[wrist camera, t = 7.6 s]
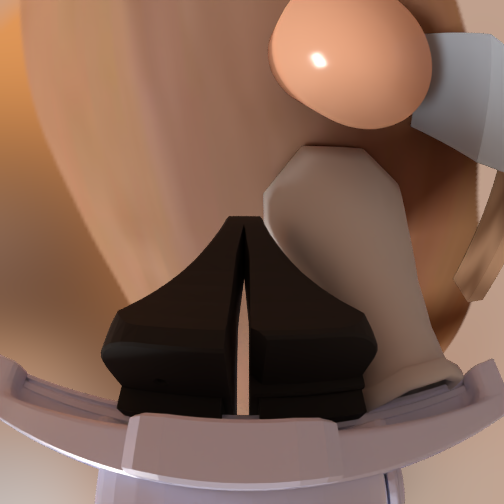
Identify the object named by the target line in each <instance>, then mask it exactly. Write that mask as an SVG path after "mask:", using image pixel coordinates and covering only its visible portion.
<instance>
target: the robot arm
mask: <svg viewBox="0 0 504 504" xmlns="http://www.w3.org/2000/svg"><path fill="white" fill-rule="evenodd" d="M244 280H245V291H246V301H247V311H248V320H249V415H237V347H238V322H239V314H240V306H241V299H242V291H243V283H244ZM377 351H378V344H377V341H376V338H375V336H374V333H373V330H372V328H371V326H370V324H369V322H368V320H367V318H366V316H365V314H364V313H363V312H361V311H359V310H357V309H356V308H354V307H352V306H350V305H348V304H346V303H344V302H343V301H341V300H339V299H338V298H336V297H334V296H333V295H331V294H330V293H328V292H327V291H325V290H324V289H322V288H321V287H320V286H318V285H317V284H316V283H315V282H313V281H312V280H311V279H309V278H308V277H307V276H306V275H305V274H303V273H302V272H301V271H300V270H299V269H298V268H297V267H296V266H295V265H294V264H293V263H292V262H291V260H290V259H289V258H288V257H287V256H286V255H285V253H284V252H283V251H282V250H281V248H280V247H279V246H278V244H277V243H276V242H275V240H274V239H273V237H272V236H271V234H270V233H269V231H268V229H267V228H266V226H265V224H264V222H263V220H262V218H261V217H260V216H229V217H228V218H227V219H226V221H225V222H224V224H223V226H222V227H221V229H220V230H219V232H218V233H217V234H216V236H215V237H214V238H213V240H212V241H211V242H210V243H209V245H208V246H207V247H206V248H205V249H204V250H203V252H202V253H201V254H200V255H199V256H198V257H197V258H196V259H195V260H194V261H193V262H192V263H191V264H190V265H189V266H188V267H187V268H186V269H185V270H183V271H182V272H181V273H180V274H178V275H177V276H176V277H175V278H173V279H172V280H171V281H169V282H168V283H167V284H165V285H164V286H162V287H161V288H159V289H158V290H156V291H154V292H153V293H151V294H150V295H148V296H146V297H144V298H143V299H141V300H139V301H137V302H135V303H133V304H131V305H129V306H127V307H125V308H123V309H121V310H119V311H118V312H117V314H116V316H115V318H114V320H113V321H112V323H111V326H110V328H109V331H108V334H107V336H106V339H105V342H104V345H103V347H102V350H101V358H102V360H103V362H104V363H105V365H106V367H107V368H108V369H109V371H110V372H111V373H112V374H113V376H114V377H115V378H116V379H117V381H118V382H119V383H120V384H121V385H122V387H121V391H120V396H119V399H118V401H114V400H110V399H105V398H101V397H97V396H93V395H89V394H86V393H82V392H79V391H75V390H72V389H69V388H66V387H63V386H60V385H57V384H54V383H51V382H48V381H45V380H42V379H40V378H37V377H35V376H32V375H30V374H27V372H26V371H25V370H24V369H23V367H21V366H20V365H19V364H18V363H16V362H15V361H14V360H12V359H9V358H7V357H5V356H2V355H0V420H1V421H3V422H4V423H6V424H8V425H9V426H11V427H12V428H14V429H15V430H17V431H18V432H20V433H22V434H24V435H25V436H27V437H29V438H31V439H32V440H34V441H36V442H38V443H40V444H42V445H44V446H46V447H48V448H50V449H52V450H54V451H56V452H58V453H61V454H63V455H65V456H67V457H70V458H72V459H74V460H77V461H79V462H82V463H84V464H87V465H90V466H92V467H95V468H98V469H99V473H98V480H97V488H96V496H95V504H404V503H405V494H404V493H405V492H404V483H403V476H402V471H401V468H403V467H406V466H409V465H411V464H414V463H417V462H419V461H422V460H424V459H427V458H429V457H431V456H434V455H436V454H438V453H440V452H442V451H444V450H446V449H448V448H451V447H453V446H455V445H456V444H459V443H460V442H462V441H464V440H466V439H468V438H470V437H472V436H473V435H475V434H477V433H478V432H480V431H482V430H483V429H485V428H487V427H488V426H490V425H491V424H493V423H494V422H496V421H497V420H499V419H500V418H502V417H503V416H504V383H503V380H502V378H501V375H500V373H499V371H498V368H497V366H496V364H495V362H494V359H490V360H487V361H485V362H483V363H480V364H478V365H476V366H474V367H473V368H471V369H470V370H469V371H468V372H467V373H466V374H465V375H464V378H463V379H462V380H461V381H460V382H459V383H458V384H457V385H456V386H455V387H454V388H453V389H451V390H449V389H448V386H447V385H446V384H444V385H441V386H438V387H435V388H432V389H428V390H425V391H422V392H418V393H414V394H411V395H407V396H403V397H399V398H396V399H394V400H392V401H390V402H388V403H386V404H384V405H382V406H380V407H378V408H376V409H374V410H372V411H370V412H369V413H366V412H367V410H366V406H365V401H364V397H363V392H362V389H364V387H365V383H364V379H363V374H364V372H365V371H366V369H367V368H368V366H369V365H370V364H371V362H372V361H373V359H374V358H375V355H376V353H377Z"/></svg>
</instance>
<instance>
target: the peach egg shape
mask: <svg viewBox="0 0 504 504" xmlns="http://www.w3.org/2000/svg"><path fill="white" fill-rule="evenodd" d="M268 60H269V65H270V68H271V71H272V73H273V75H274V77H275V79H276V81H277V82H278V84H279V85H280V86H281V87H282V88H283V90H284V91H285V92H286V93H288V94H289V95H290V96H291V97H292V98H294V99H295V100H297V101H298V102H300V103H302V104H304V105H306V106H307V107H309V108H311V109H313V110H315V111H316V112H318V113H320V114H322V115H323V116H325V117H327V118H329V119H331V120H333V121H335V122H337V123H340V124H343V125H346V126H349V127H354V128H360V129H378V128H385V127H388V126H391V125H394V124H397V123H399V122H401V121H403V120H404V119H406V118H407V117H409V116H410V115H411V114H412V113H413V112H414V111H415V110H416V109H417V108H418V107H419V106H420V104H421V103H422V101H423V100H424V98H425V96H426V94H427V92H428V89H429V86H430V82H431V76H432V58H431V52H430V48H429V44H428V42H427V39H426V36H425V34H424V32H423V30H422V28H421V26H420V25H419V23H418V22H417V20H416V19H415V18H414V16H413V15H412V14H411V13H410V11H409V10H408V9H407V8H406V7H405V6H404V5H403V4H401V3H400V2H399V1H398V0H291V1H290V2H289V3H288V5H287V6H286V8H285V9H284V11H283V13H282V15H281V17H280V18H279V20H278V22H277V24H276V26H275V28H274V30H273V32H272V34H271V36H270V40H269V43H268Z"/></svg>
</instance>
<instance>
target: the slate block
mask: <svg viewBox="0 0 504 504" xmlns="http://www.w3.org/2000/svg"><path fill="white" fill-rule="evenodd" d="M425 36H426V39H427V42H428V44H429V48H430V52H431V58H432V76H431V82H430V86H429V89H428V92H427V94H426V96H425V98H424V100H423V101H422V103H421V104H420V106H419V107H418V108H417V109H416V110H415V111H414V112H413V114H412V121H411V127H413V128H415V129H417V130H419V131H421V132H423V133H425V134H427V135H429V136H431V137H433V138H435V139H437V140H439V141H441V142H443V143H445V144H447V145H448V146H450V147H452V148H454V149H455V150H457V151H459V152H461V153H462V154H464V155H466V156H467V157H469V158H471V159H472V160H474V161H475V162H477V163H480V164H483V165H486V166H488V167H491V168H494V169H496V170H499V171H501V172H504V44H503V43H502V42H501V41H499V40H498V39H497V38H495V37H494V36H493V35H491V34H484V33H431V34H425Z"/></svg>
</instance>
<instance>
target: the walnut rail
mask: <svg viewBox="0 0 504 504" xmlns="http://www.w3.org/2000/svg"><path fill="white" fill-rule="evenodd" d="M503 264H504V172H501V171H499V170H497V174H496V177H495V181H494V184H493V187H492V190H491V193H490V196H489V199H488V202H487V205H486V207H485V210H484V213H483V215H482V218H481V220H480V223H479V225H478V228H477V230H476V233H475V235H474V237H473V239H472V242H471V244H470V246H469V248H468V250H467V253H466V255H465V257H464V259H463V261H462V263H461V265H460V267H459V269H458V271H457V272H456V274H455V276H454V278H453V280H454V281H455V283H456V284H457V286H458V288H459V289H460V291H461V292H462V294H463V295H464V297H465V299H466V300H467V302H472V301H478V300H483V298H484V297H485V295H486V293H487V292H488V290H489V289H490V287H491V285H492V284H493V282H494V280H495V279H496V277H497V275H498V273H499V272H500V270H501V268H502V266H503Z"/></svg>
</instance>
